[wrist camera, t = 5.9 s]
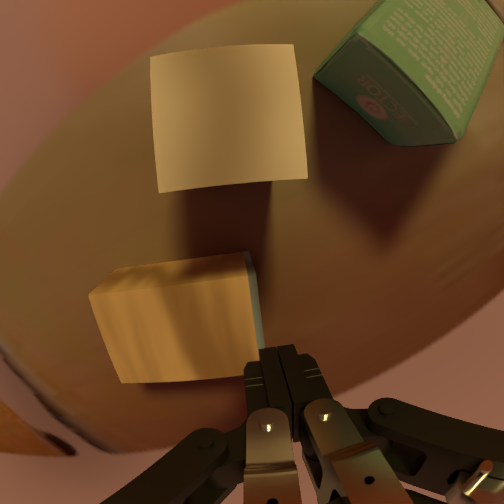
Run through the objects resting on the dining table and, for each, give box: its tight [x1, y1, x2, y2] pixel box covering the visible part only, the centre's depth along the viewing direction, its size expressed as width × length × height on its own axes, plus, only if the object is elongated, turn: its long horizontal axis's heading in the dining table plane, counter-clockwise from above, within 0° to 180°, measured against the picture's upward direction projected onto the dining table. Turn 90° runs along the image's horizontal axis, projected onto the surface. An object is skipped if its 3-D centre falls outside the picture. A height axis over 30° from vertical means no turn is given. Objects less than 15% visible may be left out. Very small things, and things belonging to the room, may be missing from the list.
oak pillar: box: [88, 251, 265, 383], centre depth 17 cm, size 4×6×9 cm
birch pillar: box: [150, 44, 308, 193], centre depth 12 cm, size 5×5×8 cm
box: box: [313, 0, 504, 146], centre depth 12 cm, size 7×14×8 cm, turn 144°
